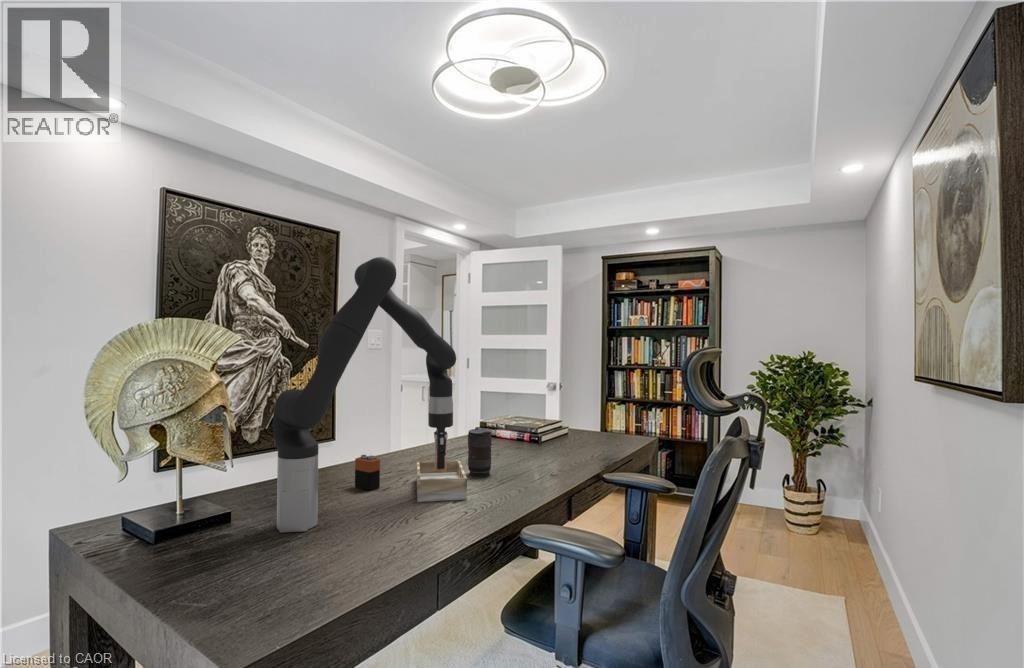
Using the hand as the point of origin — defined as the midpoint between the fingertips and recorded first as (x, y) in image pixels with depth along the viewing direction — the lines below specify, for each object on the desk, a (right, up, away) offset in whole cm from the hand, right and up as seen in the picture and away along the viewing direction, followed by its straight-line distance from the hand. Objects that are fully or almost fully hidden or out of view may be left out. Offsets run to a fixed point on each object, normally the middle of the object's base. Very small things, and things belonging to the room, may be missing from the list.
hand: (440, 466), depth 157 cm
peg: (0, -1, 0) cm, 1 cm away
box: (0, -7, 0) cm, 7 cm away
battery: (-23, -7, 0) cm, 24 cm away
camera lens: (+11, -7, +17) cm, 22 cm away
